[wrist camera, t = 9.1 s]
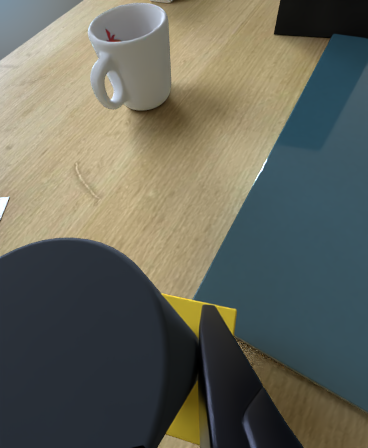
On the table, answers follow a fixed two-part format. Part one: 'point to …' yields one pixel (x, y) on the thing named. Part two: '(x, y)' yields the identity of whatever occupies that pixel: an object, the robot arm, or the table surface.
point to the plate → (308, 235)
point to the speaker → (322, 18)
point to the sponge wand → (94, 351)
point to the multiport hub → (164, 0)
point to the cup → (132, 56)
